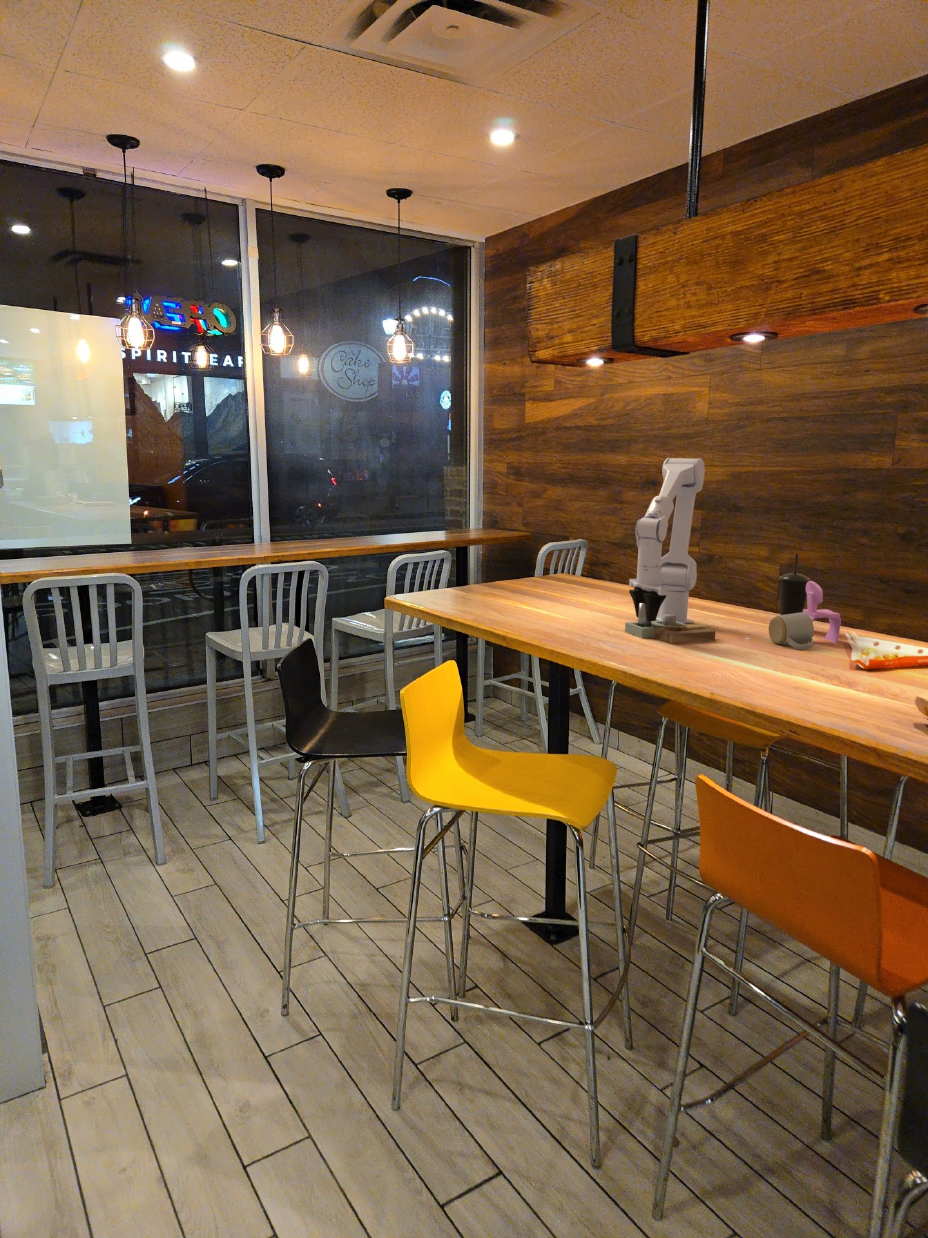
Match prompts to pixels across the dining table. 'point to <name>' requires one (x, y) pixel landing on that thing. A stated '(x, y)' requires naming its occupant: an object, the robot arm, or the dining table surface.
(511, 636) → the dining table surface
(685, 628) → the brown rectangular block
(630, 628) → the rack
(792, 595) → the drinking cup
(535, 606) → the dining table surface
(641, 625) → the grey metal cylinder
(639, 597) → the robot arm
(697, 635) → the socket block
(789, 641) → the ceramic mug
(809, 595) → the toy chair
